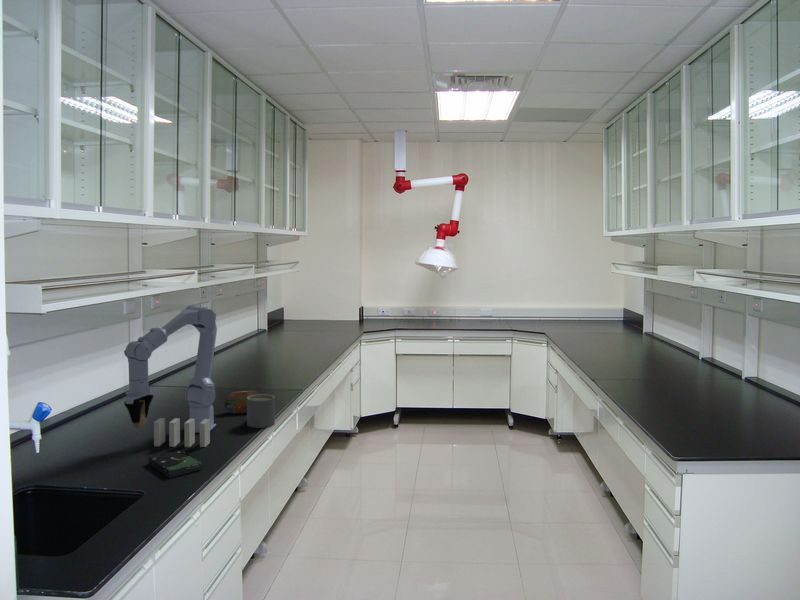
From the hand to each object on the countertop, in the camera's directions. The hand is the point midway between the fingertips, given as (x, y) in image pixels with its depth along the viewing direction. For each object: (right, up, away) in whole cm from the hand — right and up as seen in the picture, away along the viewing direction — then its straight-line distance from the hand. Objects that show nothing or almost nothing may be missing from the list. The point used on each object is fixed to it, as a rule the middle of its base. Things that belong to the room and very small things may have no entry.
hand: (139, 420), depth 197 cm
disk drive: (+17, -12, -16) cm, 26 cm away
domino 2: (+10, -9, +4) cm, 14 cm away
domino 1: (+5, -9, +4) cm, 11 cm away
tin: (+23, -6, +44) cm, 50 cm away
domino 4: (+20, -9, +4) cm, 22 cm away
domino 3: (+15, -9, +4) cm, 18 cm away
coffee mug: (+32, -7, +30) cm, 45 cm away
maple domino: (0, -2, 0) cm, 2 cm away
